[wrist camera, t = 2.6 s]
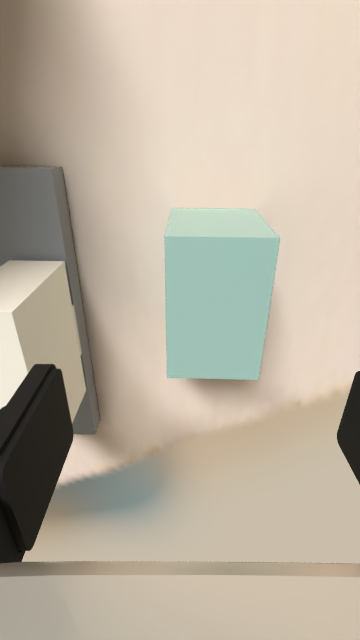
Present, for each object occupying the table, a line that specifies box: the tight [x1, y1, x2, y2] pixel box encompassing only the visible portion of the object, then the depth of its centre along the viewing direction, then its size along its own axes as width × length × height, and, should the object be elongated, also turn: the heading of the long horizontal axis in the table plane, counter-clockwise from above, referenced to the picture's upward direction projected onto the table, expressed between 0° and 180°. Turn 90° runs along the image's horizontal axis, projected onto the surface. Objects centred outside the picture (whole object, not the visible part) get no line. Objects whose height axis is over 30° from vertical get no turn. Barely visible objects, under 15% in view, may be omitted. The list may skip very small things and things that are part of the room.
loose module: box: [165, 208, 280, 380], centre depth 17 cm, size 4×7×6 cm, turn 0°
